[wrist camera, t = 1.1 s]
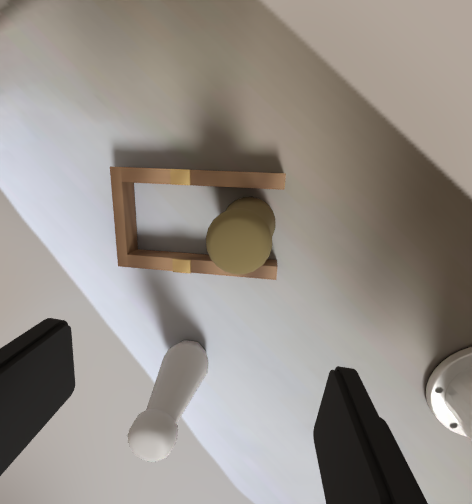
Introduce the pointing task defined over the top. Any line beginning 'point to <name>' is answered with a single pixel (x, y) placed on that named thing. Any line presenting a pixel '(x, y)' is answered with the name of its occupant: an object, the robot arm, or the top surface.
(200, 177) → the wooden u-shaped frame
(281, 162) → the top surface
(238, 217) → the pepper shaker
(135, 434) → the salt shaker
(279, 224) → the top surface
